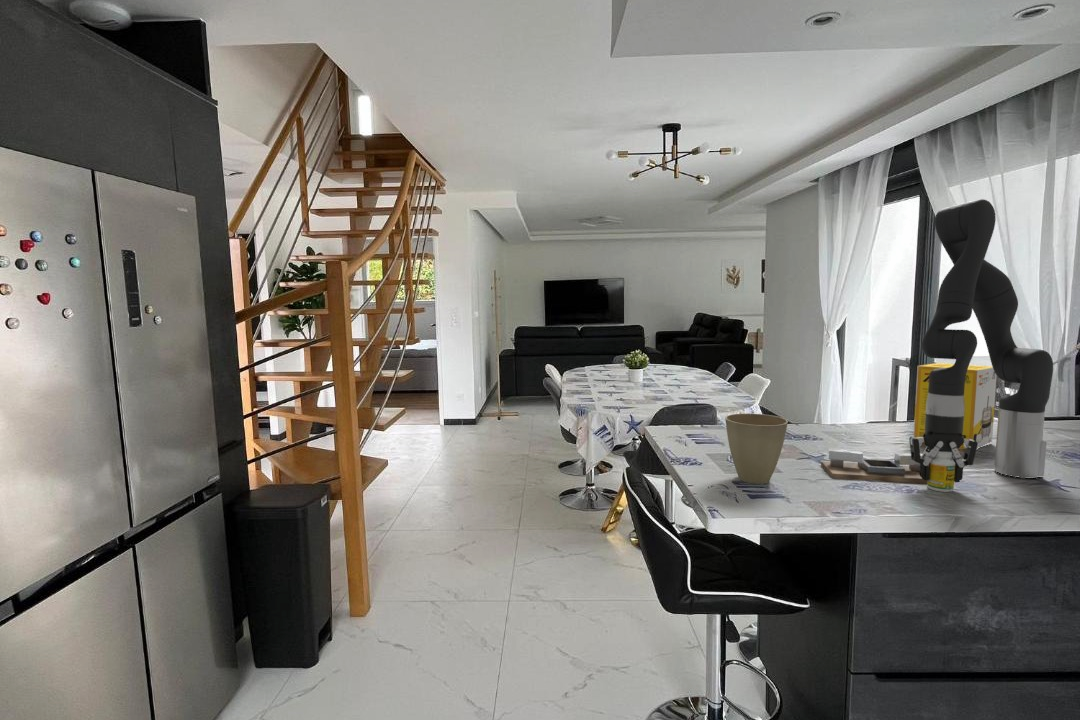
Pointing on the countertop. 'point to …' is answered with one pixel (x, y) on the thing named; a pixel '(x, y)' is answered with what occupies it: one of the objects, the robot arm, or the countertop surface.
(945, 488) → the supplement bottle
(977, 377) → the packaging box
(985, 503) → the countertop surface
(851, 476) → the walnut base board
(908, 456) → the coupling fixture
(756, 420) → the plant pot
